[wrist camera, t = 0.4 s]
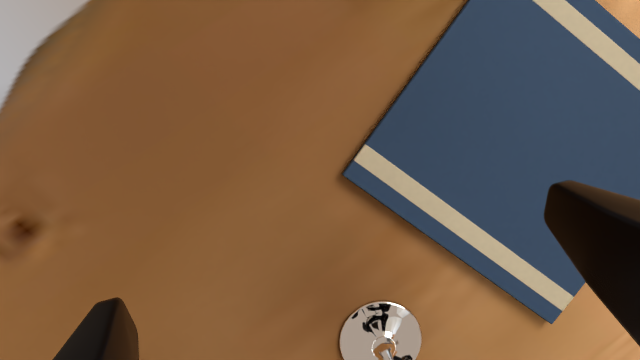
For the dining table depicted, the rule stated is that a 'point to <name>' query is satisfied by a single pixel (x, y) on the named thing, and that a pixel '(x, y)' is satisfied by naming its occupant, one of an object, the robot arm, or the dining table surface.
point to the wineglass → (381, 333)
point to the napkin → (510, 137)
